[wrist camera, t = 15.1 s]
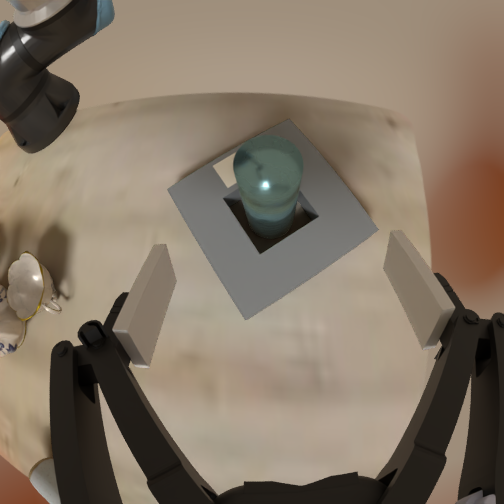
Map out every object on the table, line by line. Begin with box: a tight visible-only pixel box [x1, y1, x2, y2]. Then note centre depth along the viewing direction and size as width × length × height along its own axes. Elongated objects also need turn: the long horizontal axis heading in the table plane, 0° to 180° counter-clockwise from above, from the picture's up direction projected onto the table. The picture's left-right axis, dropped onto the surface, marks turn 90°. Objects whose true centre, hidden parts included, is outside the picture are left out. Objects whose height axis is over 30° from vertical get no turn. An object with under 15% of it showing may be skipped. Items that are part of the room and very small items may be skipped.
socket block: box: [167, 119, 379, 320], centre depth 30 cm, size 16×16×3 cm
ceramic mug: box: [29, 458, 61, 504], centre depth 22 cm, size 11×8×8 cm
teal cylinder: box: [233, 135, 304, 239], centre depth 25 cm, size 5×5×12 cm
